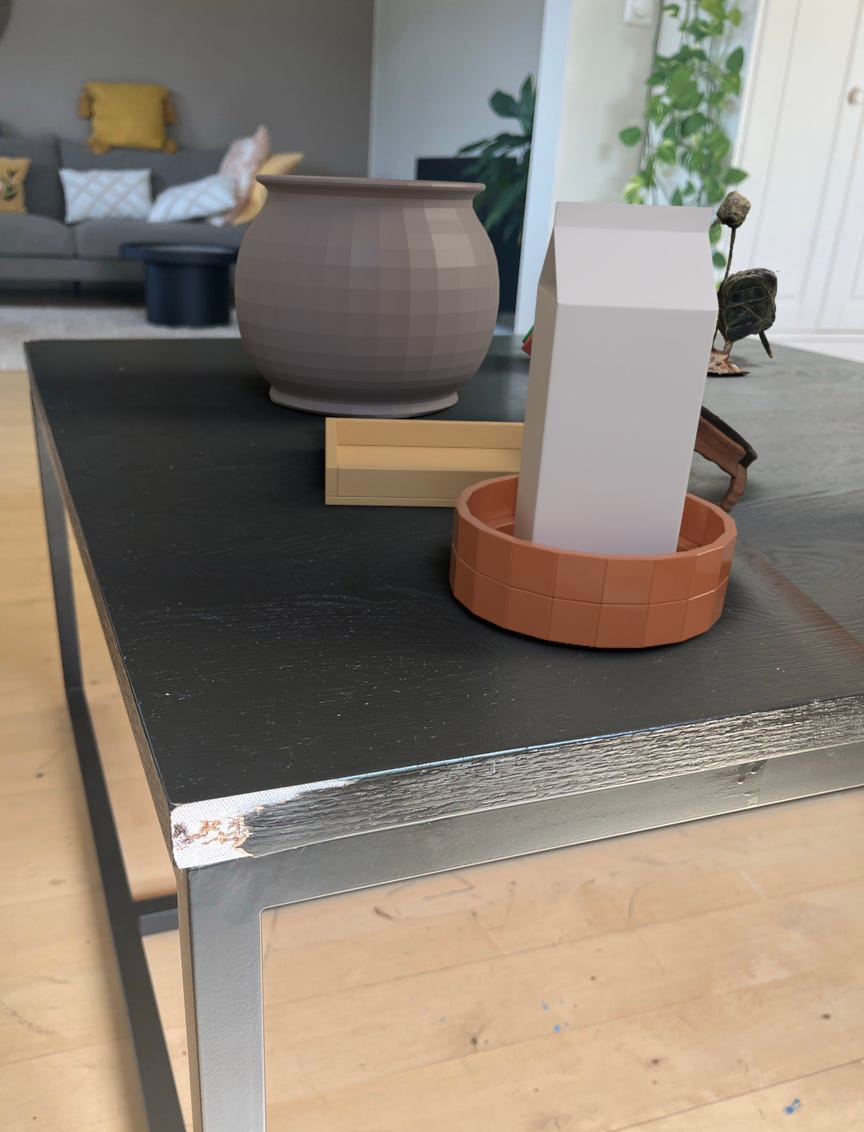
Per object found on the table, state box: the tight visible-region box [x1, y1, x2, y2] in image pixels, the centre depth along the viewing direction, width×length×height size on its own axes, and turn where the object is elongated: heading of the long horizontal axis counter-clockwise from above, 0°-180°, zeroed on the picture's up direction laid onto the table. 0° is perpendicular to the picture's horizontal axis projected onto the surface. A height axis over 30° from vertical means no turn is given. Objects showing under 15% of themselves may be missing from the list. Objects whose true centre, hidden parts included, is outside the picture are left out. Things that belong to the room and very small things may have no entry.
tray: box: [324, 417, 524, 508], centre depth 73 cm, size 18×15×3 cm
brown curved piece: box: [693, 404, 759, 514], centre depth 69 cm, size 12×10×8 cm
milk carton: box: [513, 200, 719, 555], centre depth 49 cm, size 7×7×19 cm
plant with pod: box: [707, 190, 779, 375], centre depth 115 cm, size 8×11×20 cm
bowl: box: [448, 474, 738, 649], centre depth 52 cm, size 14×14×5 cm
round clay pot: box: [233, 173, 500, 419], centre depth 93 cm, size 25×25×20 cm
